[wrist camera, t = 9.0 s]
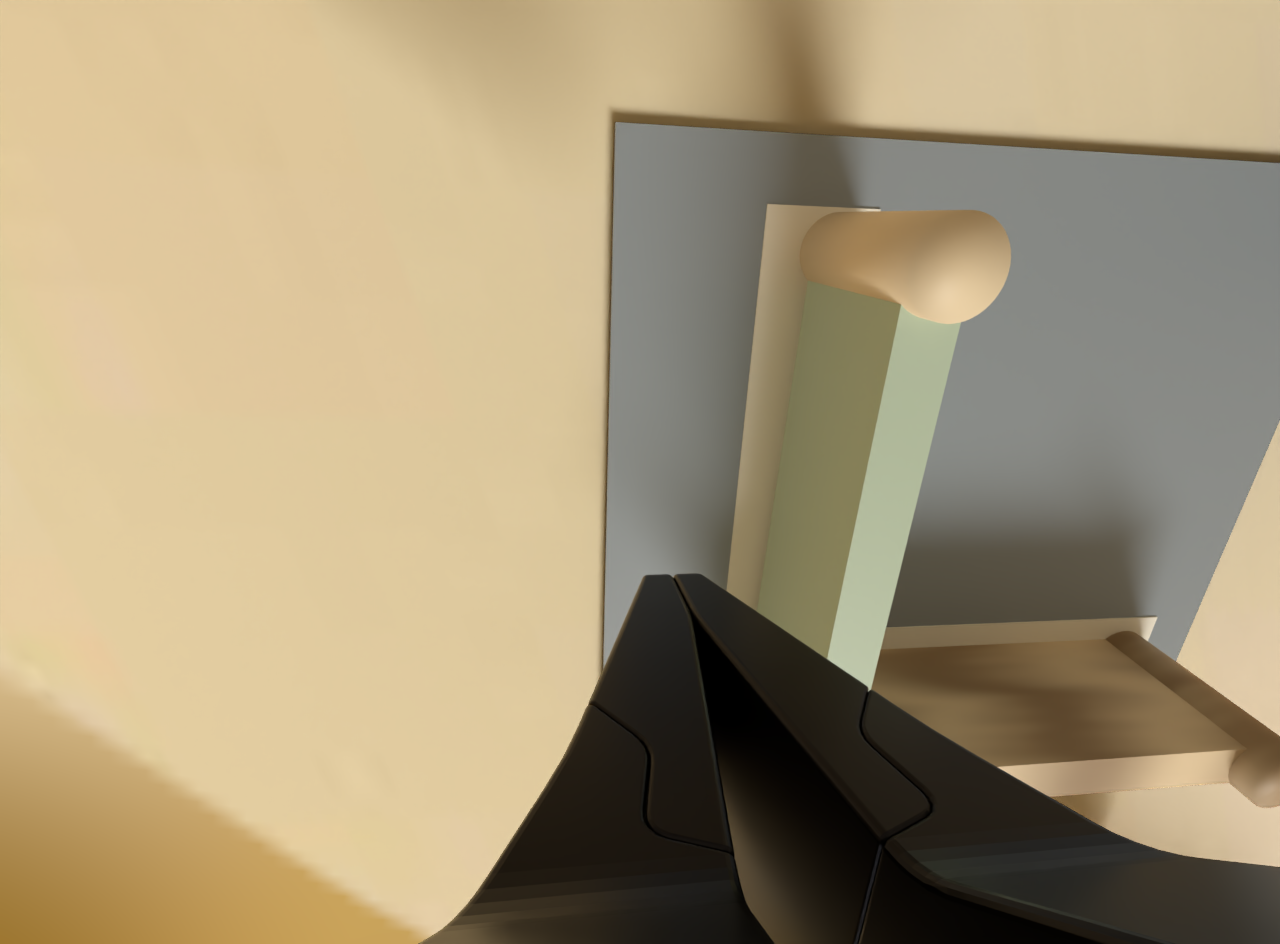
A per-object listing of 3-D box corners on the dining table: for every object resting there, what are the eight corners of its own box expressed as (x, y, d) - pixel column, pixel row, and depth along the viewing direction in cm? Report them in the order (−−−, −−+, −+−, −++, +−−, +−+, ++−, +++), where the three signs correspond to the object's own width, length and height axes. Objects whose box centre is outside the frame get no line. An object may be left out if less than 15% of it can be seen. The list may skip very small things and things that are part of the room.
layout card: (614, 123, 14) (616, 121, 14) (1378, 170, 17) (1389, 169, 16) (600, 770, 21) (601, 776, 21) (1138, 734, 24) (1143, 739, 23)
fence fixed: (719, 697, 20) (776, 866, 15) (726, 635, 20) (789, 792, 14) (1123, 675, 22) (1301, 819, 17) (1146, 618, 21) (1341, 751, 16)
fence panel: (800, 637, 19) (876, 769, 15) (743, 638, 19) (802, 773, 14) (879, 214, 15) (1024, 213, 10) (806, 209, 15) (920, 206, 10)
